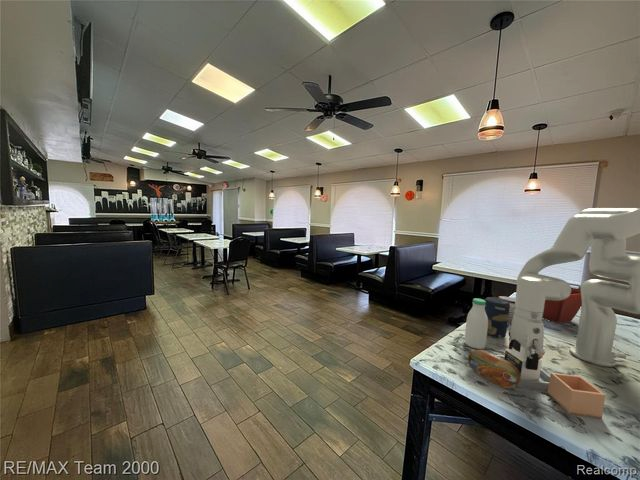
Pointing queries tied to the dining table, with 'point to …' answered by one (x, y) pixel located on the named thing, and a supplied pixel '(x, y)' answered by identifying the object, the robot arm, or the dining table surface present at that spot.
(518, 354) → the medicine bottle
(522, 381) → the grey square tray
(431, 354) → the dining table surface
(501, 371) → the tin
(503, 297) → the can
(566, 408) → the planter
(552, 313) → the plant pot
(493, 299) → the canister
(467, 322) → the milk bottle
